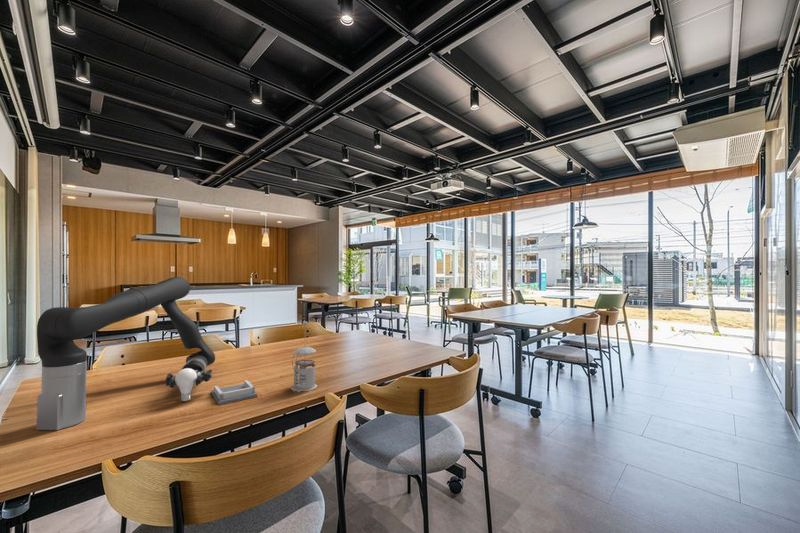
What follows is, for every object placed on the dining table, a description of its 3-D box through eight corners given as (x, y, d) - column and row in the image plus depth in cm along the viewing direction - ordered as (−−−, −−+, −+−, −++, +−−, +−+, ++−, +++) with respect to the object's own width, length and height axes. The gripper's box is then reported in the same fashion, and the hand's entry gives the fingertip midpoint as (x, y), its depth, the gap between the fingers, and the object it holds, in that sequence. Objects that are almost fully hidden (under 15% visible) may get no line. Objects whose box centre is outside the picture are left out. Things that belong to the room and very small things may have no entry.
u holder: (257, 396, 119) (257, 388, 119) (219, 405, 112) (219, 395, 112) (246, 386, 130) (246, 378, 130) (211, 392, 123) (211, 384, 123)
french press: (301, 394, 122) (302, 324, 122) (282, 387, 129) (283, 321, 129) (323, 386, 130) (324, 321, 130) (304, 380, 137) (304, 318, 137)
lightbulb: (189, 405, 111) (189, 371, 112) (170, 404, 112) (170, 371, 112) (200, 397, 118) (201, 365, 118) (182, 397, 118) (183, 365, 118)
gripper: (171, 362, 125) (158, 375, 110) (215, 358, 131) (209, 370, 115) (171, 382, 125) (158, 398, 110) (215, 378, 131) (209, 392, 115)
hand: (184, 384), depth 113 cm, fingers closed on lightbulb, 6 cm apart
